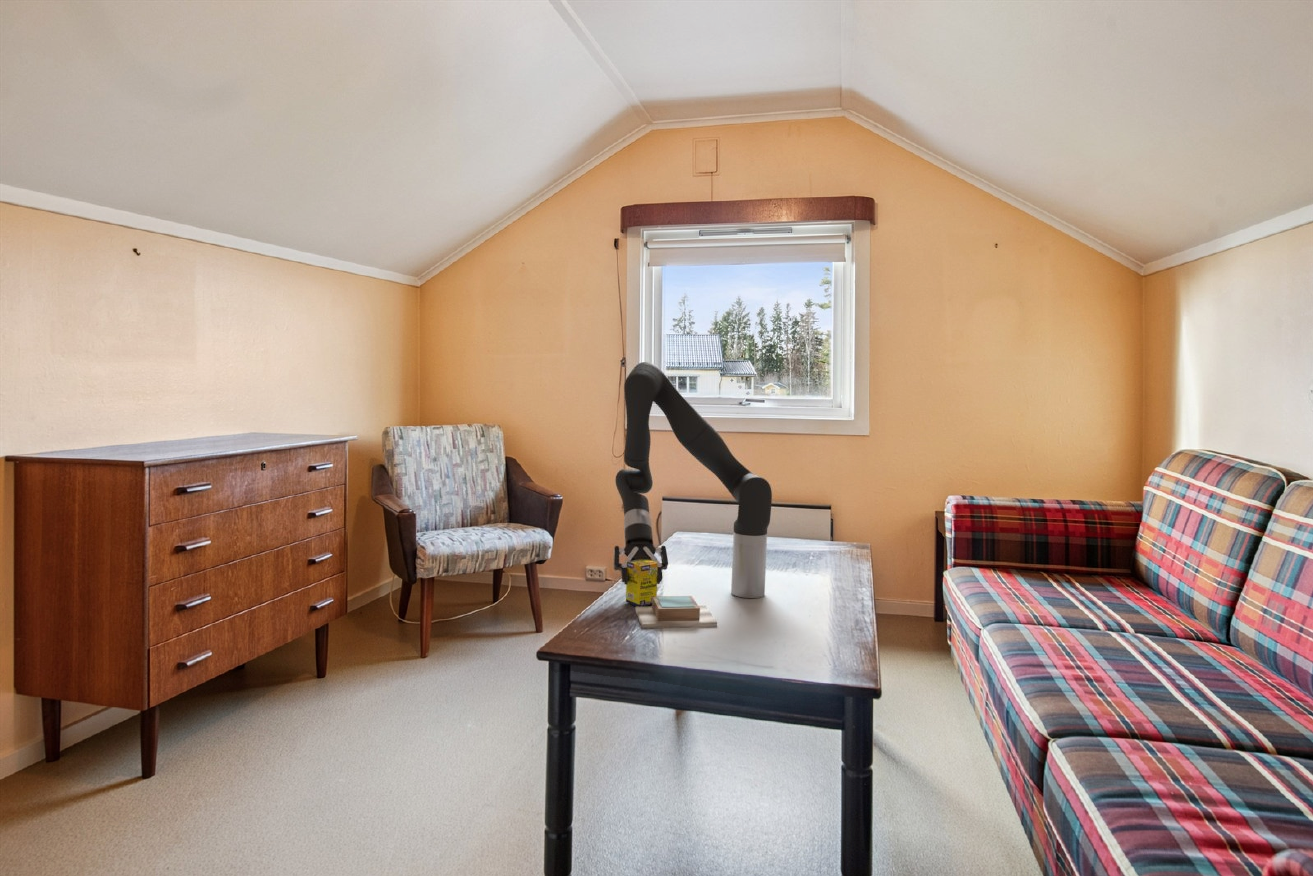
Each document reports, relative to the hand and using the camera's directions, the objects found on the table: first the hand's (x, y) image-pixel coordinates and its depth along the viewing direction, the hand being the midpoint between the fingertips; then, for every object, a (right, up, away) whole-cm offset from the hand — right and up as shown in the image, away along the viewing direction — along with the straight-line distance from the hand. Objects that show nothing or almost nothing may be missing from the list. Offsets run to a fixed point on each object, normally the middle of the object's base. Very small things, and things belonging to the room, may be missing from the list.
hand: (642, 582), depth 183 cm
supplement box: (0, -6, +2) cm, 6 cm away
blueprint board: (+8, -7, -9) cm, 14 cm away
